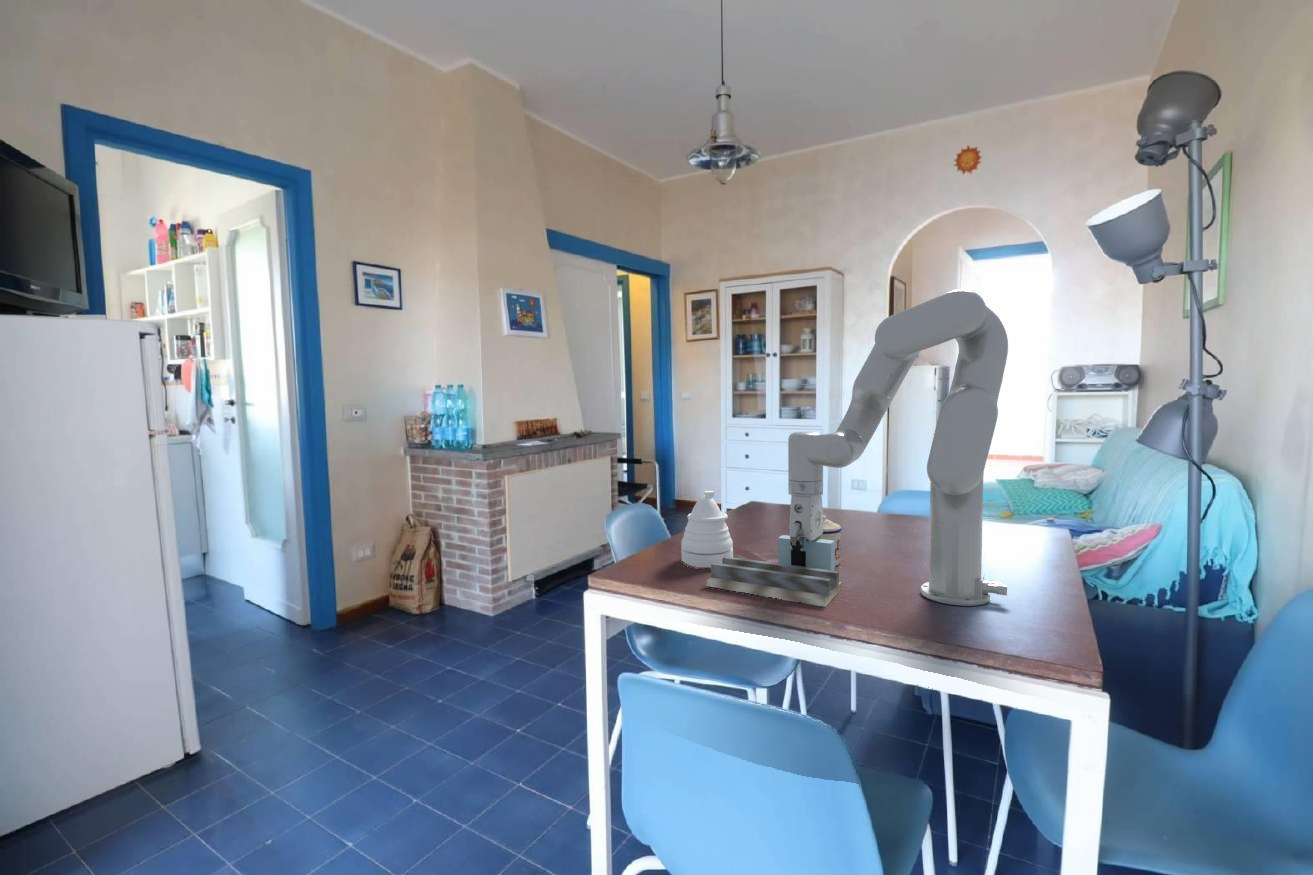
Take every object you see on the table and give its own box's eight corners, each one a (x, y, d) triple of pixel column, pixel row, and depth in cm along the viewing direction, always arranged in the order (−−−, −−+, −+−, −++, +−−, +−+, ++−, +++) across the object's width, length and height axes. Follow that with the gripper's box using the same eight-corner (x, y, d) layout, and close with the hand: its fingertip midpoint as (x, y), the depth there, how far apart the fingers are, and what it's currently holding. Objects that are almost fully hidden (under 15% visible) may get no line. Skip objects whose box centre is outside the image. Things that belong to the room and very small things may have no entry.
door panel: (834, 580, 137) (834, 540, 136) (831, 584, 134) (830, 543, 134) (783, 573, 143) (782, 534, 143) (778, 576, 141) (778, 537, 140)
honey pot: (742, 564, 151) (741, 491, 149) (694, 571, 146) (693, 496, 145) (718, 552, 163) (717, 484, 161) (673, 558, 158) (671, 488, 156)
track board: (841, 589, 131) (841, 568, 130) (825, 606, 121) (825, 584, 120) (729, 572, 144) (729, 553, 144) (706, 587, 134) (706, 566, 134)
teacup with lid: (843, 568, 145) (843, 519, 144) (803, 567, 147) (803, 519, 146) (839, 554, 157) (838, 509, 156) (802, 553, 159) (802, 509, 158)
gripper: (809, 494, 128) (809, 575, 129) (833, 482, 143) (833, 555, 144) (775, 492, 132) (775, 570, 133) (801, 480, 147) (801, 551, 148)
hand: (805, 562), depth 139 cm, fingers open, 9 cm apart
